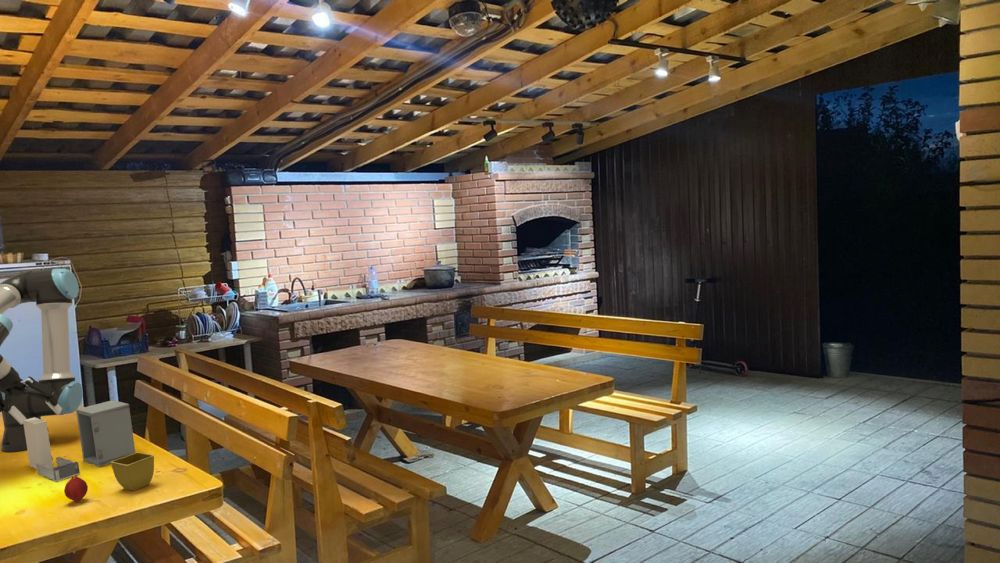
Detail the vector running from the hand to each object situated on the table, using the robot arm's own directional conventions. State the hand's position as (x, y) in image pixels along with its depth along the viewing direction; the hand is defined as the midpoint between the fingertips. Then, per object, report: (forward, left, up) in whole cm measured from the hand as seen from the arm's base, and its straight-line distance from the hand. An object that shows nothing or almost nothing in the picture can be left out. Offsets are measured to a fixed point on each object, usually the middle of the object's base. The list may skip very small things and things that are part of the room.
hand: (41, 416), depth 253 cm
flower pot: (+47, +31, -16) cm, 59 cm away
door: (+6, -1, -16) cm, 17 cm away
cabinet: (+10, +20, -16) cm, 27 cm away
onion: (+50, +16, -16) cm, 55 cm away
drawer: (+18, +6, -16) cm, 25 cm away
